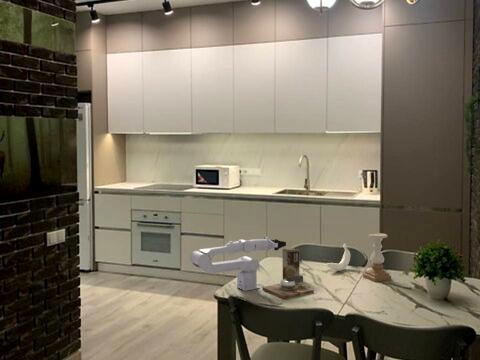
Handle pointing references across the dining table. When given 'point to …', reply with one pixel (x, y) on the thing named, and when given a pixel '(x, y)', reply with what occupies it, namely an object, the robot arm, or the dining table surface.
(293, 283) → the steel cap
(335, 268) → the banana
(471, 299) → the dining table surface
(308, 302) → the dining table surface
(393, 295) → the dining table surface
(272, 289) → the post base
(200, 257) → the robot arm
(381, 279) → the candle holder
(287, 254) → the coffee box
